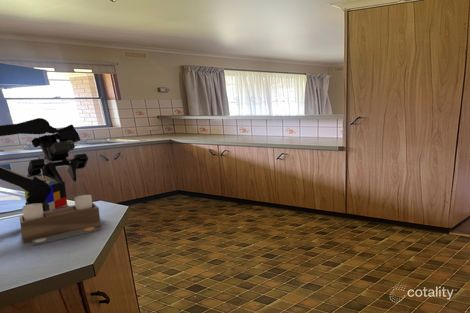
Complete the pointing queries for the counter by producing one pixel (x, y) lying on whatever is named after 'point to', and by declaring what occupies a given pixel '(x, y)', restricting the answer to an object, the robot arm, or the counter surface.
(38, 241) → the pattern card
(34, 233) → the button console
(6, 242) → the counter surface
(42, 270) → the counter surface
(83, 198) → the beige cylinder
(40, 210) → the unmarked button
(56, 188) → the puzzle toy
